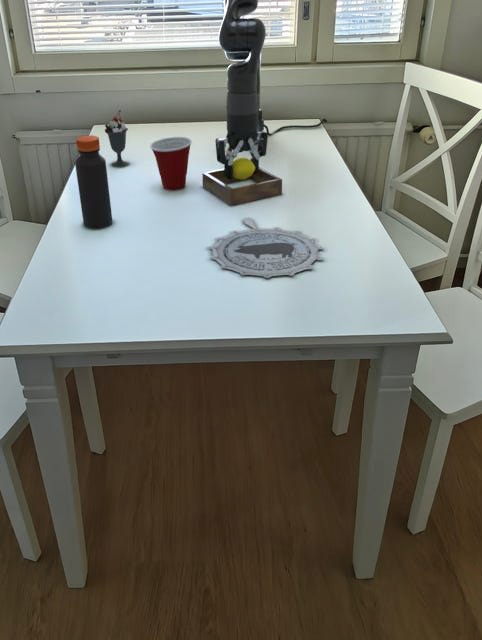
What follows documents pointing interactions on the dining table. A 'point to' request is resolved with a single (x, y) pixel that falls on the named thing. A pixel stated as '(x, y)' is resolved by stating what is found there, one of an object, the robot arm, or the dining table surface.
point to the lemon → (242, 168)
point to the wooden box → (233, 196)
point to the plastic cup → (172, 160)
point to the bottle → (93, 183)
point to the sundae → (117, 139)
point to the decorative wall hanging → (265, 252)
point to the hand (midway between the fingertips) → (241, 175)
